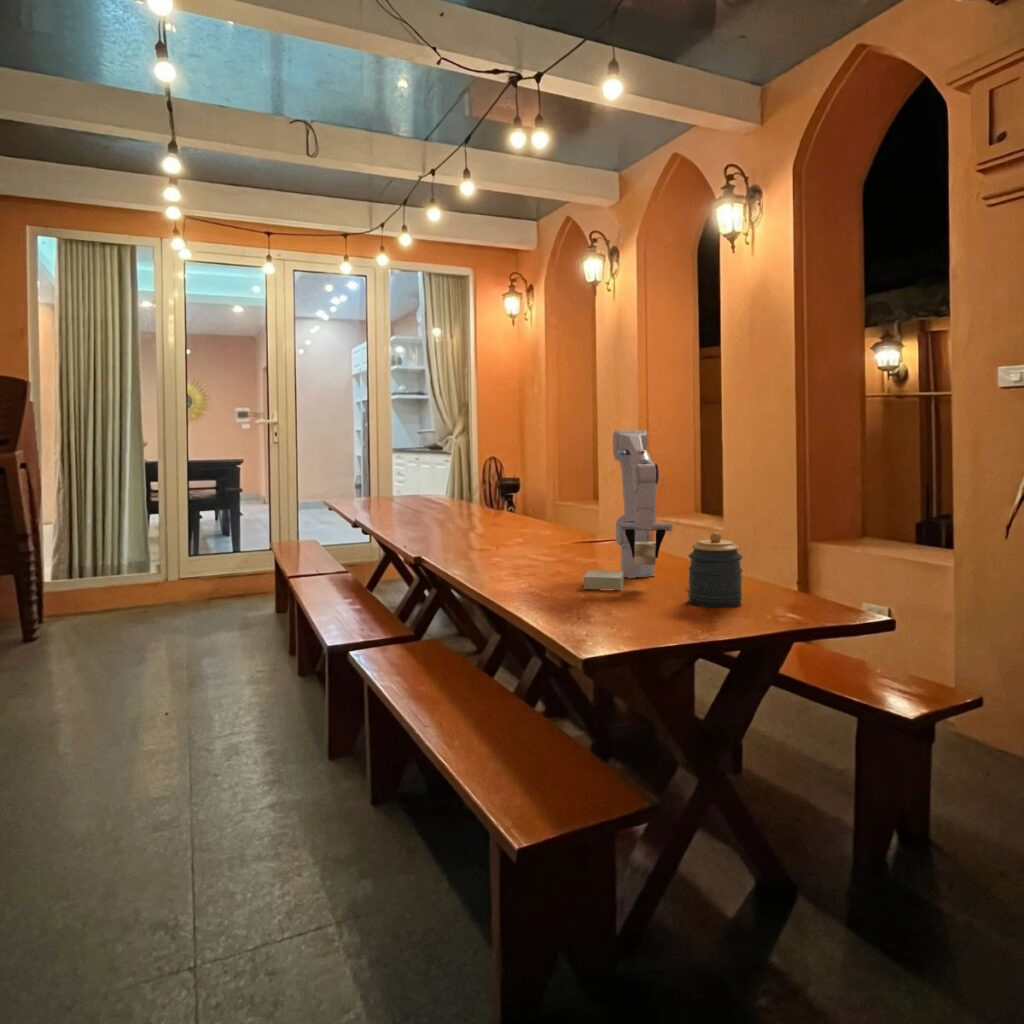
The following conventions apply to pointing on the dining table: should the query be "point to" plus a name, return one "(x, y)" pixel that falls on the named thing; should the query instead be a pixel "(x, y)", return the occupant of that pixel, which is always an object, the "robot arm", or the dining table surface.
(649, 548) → the cream cube
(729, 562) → the canister
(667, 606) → the dining table surface
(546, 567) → the dining table surface
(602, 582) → the sage pedestal
